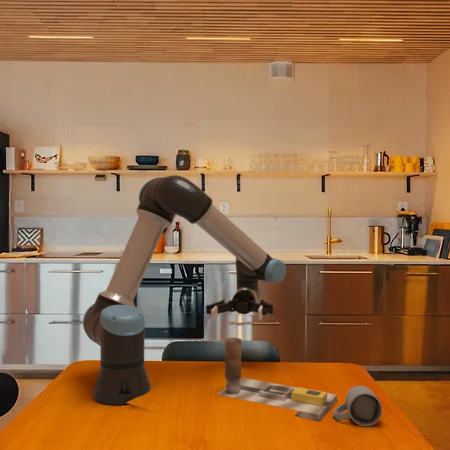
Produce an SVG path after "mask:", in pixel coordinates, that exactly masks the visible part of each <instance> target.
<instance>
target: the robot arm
mask: <svg viewBox="0 0 450 450" xmlns="http://www.w3.org/2000/svg"><path fill="white" fill-rule="evenodd" d="M138 194H139V195H138V202H139V204H138V206H137V208H136V211H135V212H136V214H137V218H138V219H137V220H136V223H135V225H134V227H133V229H132V231H131V233H130V236H129V238H128V241H127V243H126V244H125V247H124V249H123V252H122V253H121V256H120V258H119V260H118V264H117V265H116V267H115V270H114V272H113V274H112V276H111V278H110V281H109V282H108V285H107V287H106V289H105V290H104V291H101V292H99V293H98V295H97V296H96V299H95V302H94V303H93V304H91V305H90V306H89V307H88V308H87V309H86V311H85V313H84V315H83V318H82V327H83V331H84V332H85V335H86V336H87V337H88V339H89V340H90V341H92V342H93V343H96V344H97V345H98V346H100V364H99V365H100V366H99V371H98V374H97V378H96V382H95V384H94V387H93V399H94V400H95V401H96V402H97V403H100V404H103V405H111V406H113V405H114V406H118V405H121V406H122V405H129V403H128V402H130V401H132V400H134V399H136V398H140V397H142V396H145V395H146V394H148V393H149V392H150V391H151V389H152V388H151V383H150V380H149V377H148V374H147V369H146V367H145V333H146V332H145V327H146V321H145V313H144V311H143V310H142V309H141V308H139V307H137V306H136V305H135V303H134V299H135V298H136V296H137V292H138V290H139V287H140V286H141V284H142V281H143V279H144V276H145V274H146V272H147V270H148V268H149V266H150V265H149V264H150V262H151V261H152V258H153V255H154V253H155V251H156V249H157V246H158V244H159V242H160V239H161V237H162V235H163V232H164V230H165V229H166V228H168V227H171V226H172V224H173V222H174V219H175V217H176V216H179V217H181V218H183V219H184V220H186V221H187V222H189V224H191V225H193V224H194V225H195V224H196V225H197V226H199V227H200V228H201V229H202V230H203V231H204V232H205V233H207V234H208V235H209V236H210V237H211V238H213V239H214V240H215V241H216V242H217V243H218V244H219V245H221V246H222V247H223V248H225V249H226V251H228V252H229V253H230V254H232V255H233V256H234V257H235V262H234V263H235V273H236V292H235V294H234V295H233V296H232V299H231V300H228V301H226V300H225V299H221V300H220V301H217V302H214V303H211V304H210V303H209V304H207V305H205V311H206V314H207V315H209V316H210V317H211V318H210V319H211V321H215V320H216V318H217V317H218V316H219V314H223V313H226V312H229V313H234V312H236V313H238V314H240V315H247V314H250V313H252V312H255V313H258V315H257V316H258V321H262V319H263V316H266V315H267V314H270V315H273V314H274V305H273V304H271V303H269V302H268V301H267V302H266V301H265V300H264V299H260V289H259V281H263V282H266V283H270V284H271V283H280V282H282V281H283V280H284V279H285V277H286V275H287V267H286V264H285V263H284V262H285V261H282V260H281V259H278V258H273V257H272V256H271V255H270V254H269V253H267V252H266V251H265V250H264V249H263V248H262V247H261V246H259V245H258V244H257V242H255V241H254V240H253V239H252V238H250V237H249V236H248V235H247V234H246V233H245V232H244V231H243V230H242V229H240V227H238V226H237V225H236V224H235V223H234V222H233V221H232V220H230V218H228V216H226V215H225V214H224V213H223V212H222V211H221V210H220V209H218V208H217V207H216V206H215V205H214V203H213V199H212V197H210V196H209V194H207V193H206V192H204V191H203V190H202V189H201V188H200V187H199V186H198V185H197V184H195V183H193V182H192V181H191V180H189V179H188V178H186V177H184V176H180V175H175V174H174V175H168V176H162V177H155V178H152V179H150V180H148V181H146V183H144V184H143V186H142V187H141V188H140V191H139V193H138Z"/></svg>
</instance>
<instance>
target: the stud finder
mask: <svg viewBox="0 0 450 450" xmlns="http://www.w3.org/2000/svg"><path fill="white" fill-rule="evenodd" d="M327 393H328V392H326V391H321V390H315V389H310V388H305V387H299V386H297V388H296V389H295V390H294V391H293V392H292V400H293V401H299V402H304V403H309V404H314V405H319V406H323V405H324V403H325V402H326V401H327Z"/></svg>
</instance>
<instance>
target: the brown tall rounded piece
mask: <svg viewBox="0 0 450 450" xmlns="http://www.w3.org/2000/svg"><path fill="white" fill-rule="evenodd" d="M224 378H225V379H226V380H225V388H226V392H227V393H228V394H238V393H239V392H240V379H241V378H242V338H240V337H227V338H225V339H224Z"/></svg>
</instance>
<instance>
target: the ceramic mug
mask: <svg viewBox="0 0 450 450" xmlns="http://www.w3.org/2000/svg"><path fill="white" fill-rule="evenodd" d="M345 396H346V397H345V403H342V404H340V405H339V406H336V408H334V409H333V411H332V414H333V416H334V419H335V420H336V421H344V420H348V419H351V420H352V421H353V423H355V424H357V425H359V426H362V427H371V426H374V425H375V424H376V423H378V422H379V421H380V419H381V418H382V414H383V406H382V403H381V401H380V399H379V398H378V397H377V396H376V394H375V393H374V392H373V390H371V389H370V388H369V387H367V386H364V385H356V386H355V385H354V386H352V387H351V388H349V390H348V391H347V393H346V395H345Z"/></svg>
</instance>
